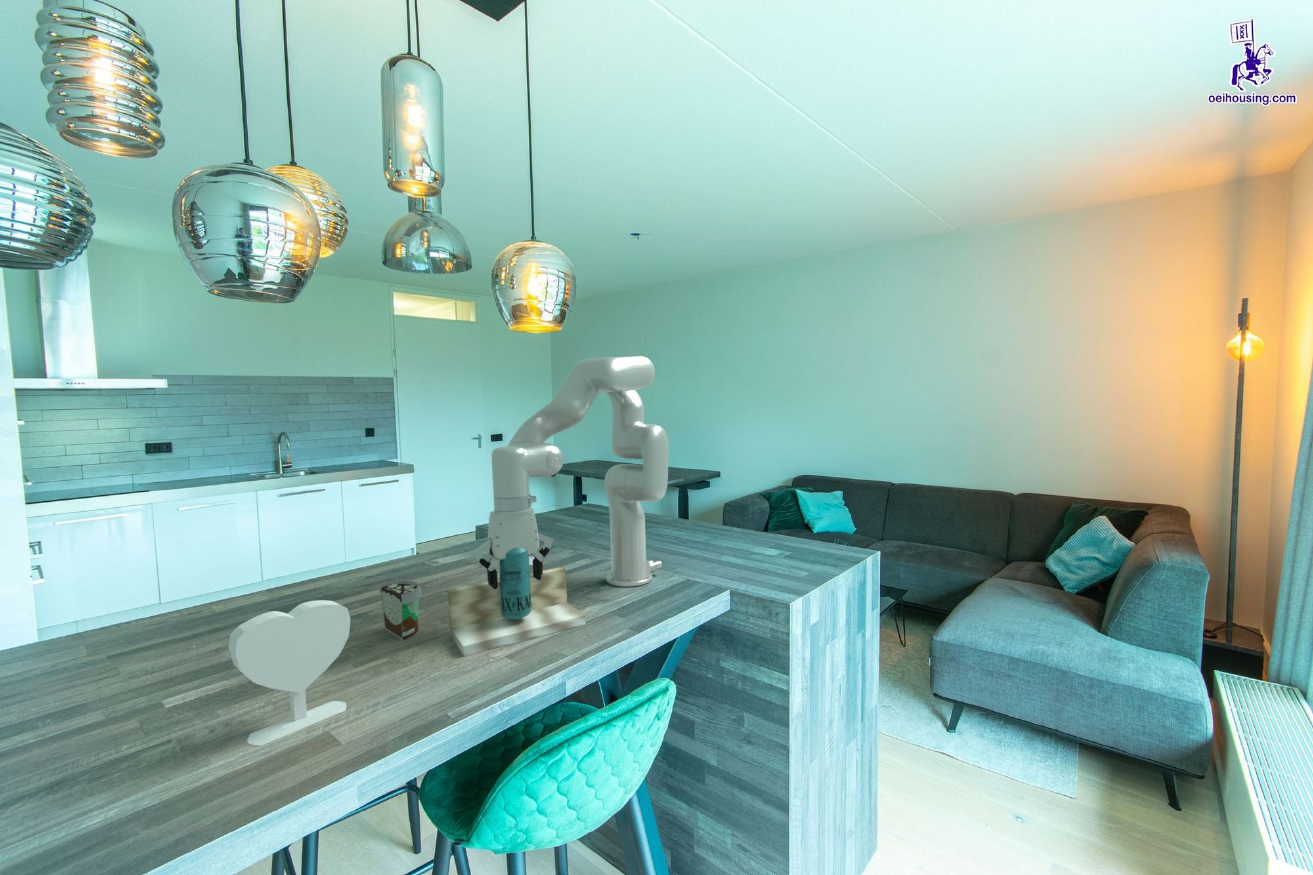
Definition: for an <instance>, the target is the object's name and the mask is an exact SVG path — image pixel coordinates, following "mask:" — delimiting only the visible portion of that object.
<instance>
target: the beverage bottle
mask: <svg viewBox="0 0 1313 875" xmlns="http://www.w3.org/2000/svg"><path fill="white" fill-rule="evenodd" d="M505 556H506V558H505V559H504V560H500V561H499V579H500V581H499V584H500V590H501V592H500V593H501V594H500V596H501V603H500V605H501V610H502V613H501V614H502V616H503V617H504V618H506V619H518V618H523V617H525V616H527V615H529V614H530V612H531V608H532V607H531V605H532V604H531V603H532V601H531V594H530V591H531V590H530V587H531V586H530V585H531V584H530V573H529V556H530V555H528V550H526V549H524V548H520V547H518V548H514V549H512V550H510V551H509V552H507V553H506V555H505Z"/></svg>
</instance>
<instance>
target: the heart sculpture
mask: <svg viewBox="0 0 1313 875" xmlns="http://www.w3.org/2000/svg"><path fill="white" fill-rule="evenodd" d="M351 621H352V620H351V616H350V613H349V608H347V607H346V606H344V605H342V604H340V603H338V602H336V601H333V600H326V599H325V600H324V599H322V600H321V599H320V600H309V601H306V602H302V603H300V604H298V605H297V606H295V607H294V608H293V609H292V610H290V611H289V612H288V613H286V612H283V611H275V610H272V611H268V612H264V613H261V614H259V615H257V616H255V617H253V618H250V619H248V620H247V621H245V622H243V623H241V624H240V625H238V626H237V627H236V628H234V629H233V631H232V632H230V634H229V640H228V642H229V643H228V651H229V654H230V658H231V661H232V664H233V666H234V667H235V668H236V669H237V670H239V671H240V672H241V673H242V674H243V675H245V677H247V678H248V679H249V680H250V681H251V682H252V683H254V684H256V685H259V686H262V687H264V688H265V687H266V688H268V689H271V690H278V691H279V690H280V691H286V692H289V705H290V708H289V709H290V717H288V718H286V719H283V720H281V721H279V722H276V723H273V724H271V725H268V726H266V727H263V728H261V729H259V730H256V731H254V732H253V731H252V732H251V733H250V734H249V736H248V737H247V740H246V742H247V744H249V745H253V746H260V747H262V746H264V745H266V744H269V743H271V742H274V741H277V740H278V739H281V738H283V737H285V736H287V735H291V734H293V733H295V732H297V731H298V732H299V731H300V730H302V729H305V728H307V727H310V726H311V725H314V724H316V723H319V722H322V721H324V720H326V719H329V718H331V717H333V716H335V715H338V714H340V713H344V712H345V711H346V710H347V705H348V704H347V703H346V702H345V701H339V700H331V701H329V702H326V703H323V704H321V705H318V706H317V707H314V708H311V709H309V710H308V709H307V697H306V695H307V694H306V690H307V688H308V687H309V686H310V685H311V684H312V683H314V682H315V680H317V679H318V678H319V677H320V676H322V674H323V673H324V672H325V671H327V670H328V669H329V667H330V666H331V665H332V664H333V663H334V661H335V660H336V659H337V658H338V657H339V656H340V655H341V654H342V653H341V652H342V651H343V648H344V647H345V645H346V643H347V641H348V639H349V637H350V628H351Z"/></svg>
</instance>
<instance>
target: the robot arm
mask: <svg viewBox="0 0 1313 875" xmlns="http://www.w3.org/2000/svg"><path fill="white" fill-rule="evenodd" d="M655 375H656V370H655V366H654V364H653V362H652V360H651V359H649V358H648V357H646V356H643V355H636V356H634V355H632V356H603V357H595V358H594V357H593V358H592V357H591V358H584V359H582V360H579V361H577V362H576V363H575V364H574V366H573V367H572V369H571V370H570V372H569V373H568V374H567V376H566V377H565V379H564V381H563V382H562V384H561V386H560V388H558V391H557V392H556V393H555V395H554V397H553V399H552V400H551V401H550V402H549V403H547V404H546V405H544V406H543V407H542V408H540V409H539V410H538V411H537V412H536V413H534V414H533V415H531V417H529V418H528V419H527V420H526V421H524V422H523V423H522V425H520V426H519V428H518V429H517V430H516V432H515V434H514V435H513V436H512V437H511V440H510V441H509V442H508V445H507V446H499V447H498V446H497V447H495V448H494V449H492V453H491V471H492V489H493V490H492V493H493V507H494V508H493V511H490V513H489V518H488V526H487V527H488V529H487V540H486V541H485V542H484V543H483V544H481V545H480V546H478V547H476V548H475V549H474V550H473V551H472V555H473V556H474V558H475V559H476V560H477V562H478V563H479V564H480V565H482V566H483V567H484V568H485V569H486V573H487V576H486V577H487V582H488V584H489V585H490V586H491V587H492V588H493V589H497V588H498V582H497V580H498V571H497V569H496V567H497V565H498V564H499V563H500V560H504V559H505V558H506V556H505V555H506V553H507V552H509V551H510V550H512V549H514V548H518V547H520V548H524V549H526V550H528V555H529V556H534V559H533V577H534V578H536V579H537V580H541V575H542V574H543V567H542V561H543V562H544V561H545V558H546V556H547V555H548V554H549V552H550V549H551V547H552V545H553V543H554V539H553V538H551V537H549V536H547V535H544V534H542V533H541V534H540V533H539V530H538V524H537V518H536V514H535V510H534V508H533V507H532V504H533V503H536V502H537V496H536V495H534V496H533V495H531V490H530V478H547V477H551V476H554V475H556V474H557V473H559V471H560V470H561V469H562V468H563V465H564V462H565V460H564V455H563V452H562V450H561V449H560V448H559V447H558V446H556V445H555V444H552V443H548V442H546V441H547V440H548V439H549V438H551V437H552V436H554V435H557V434H558V433H561V432H564V431H566V430H568V429H570V428H572V427H575V426H576V425H578V424H580V423H581V422H582V421H583V420H584V418H585V417H586V416H587V415H586V414H587V413H588V411H589V409H590V408H591V406H592V404H593V402H594V401H595V399H596V398H597V396H598V395H599V394H600V393H601V394H602V393H605V394H606V395H607V397H608V398H609V400H610V404H611V407H612V429H611V430H612V431H611V450H612V453H613V455H614V456H615V457H618V458H619V459H625V460H639V461H642V464H632V463H631V464H630V463H629V464H628V463H626V464H625V463H619V464H616V465H613V466H612V467H610V468H609V469H608V470H607V471H606V473H605V476H604V489H605V493H606V494H605V495H606V497H607V503H608V510H609V512H608V513H609V529H610V530H609V532H610V556H611V558H610V562H611V563H610V564H611V572H609V573H608V574H606V578H605V579H606V582H607V583H608V584H610V585H611V586H615V587H638V586H641V585H645V584H648V583H650V582H651V581H652V580H653V573H652V572H651V571H653V570H654V569H655V570H656V569H660V568H662V567H663V563H662V562H661V560H657V561H653V560H647V547H646V546H647V542H646V516H645V511H644V509H643V506H642V504H641V502H646V503H656V502H659V501H661V500H663V498H664V497H665V495H666V492H667V488H668V483H669V482H668V480H669V455H670V445H669V444H670V443H669V437H668V435H667V432H666V431H665V429H664V428H663V427H662V426H661V425H659V424H654V423H645V408H644V407H645V406H644V403H643V400H642V398H641V396H640V394H639V393H638V391H640V390H645V389H647V388H649V387H650V386H651V385H652V384H653V382H654V380H655V378H656V377H655ZM540 541H541V542H543V546H542V548H540ZM539 549H540V550H539ZM485 552H487V553H488V554H489V555H488V556H490V557H488V559H486V558H485V557H484V556H483V554H484V553H485Z"/></svg>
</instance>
